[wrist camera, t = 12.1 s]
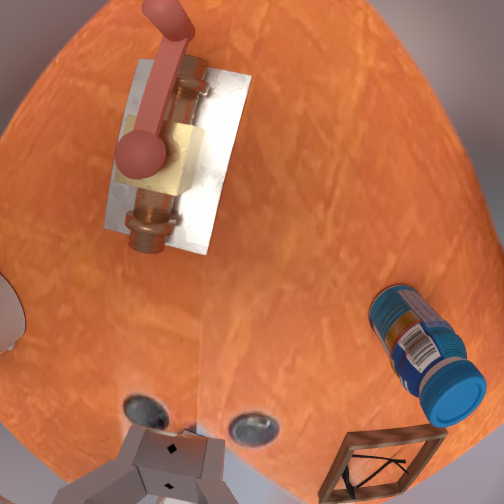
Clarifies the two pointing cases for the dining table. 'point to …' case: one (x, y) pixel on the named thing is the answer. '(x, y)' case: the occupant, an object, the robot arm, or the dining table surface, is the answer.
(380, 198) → the dining table surface
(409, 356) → the beverage bottle
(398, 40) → the dining table surface
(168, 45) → the lever
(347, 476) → the sunglasses
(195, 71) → the valve body
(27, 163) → the dining table surface
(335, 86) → the dining table surface
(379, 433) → the glasses tray
